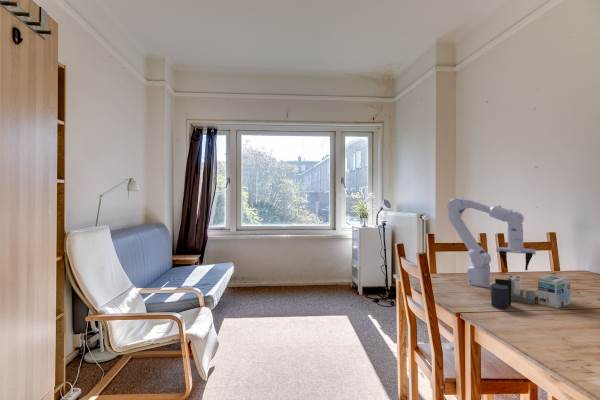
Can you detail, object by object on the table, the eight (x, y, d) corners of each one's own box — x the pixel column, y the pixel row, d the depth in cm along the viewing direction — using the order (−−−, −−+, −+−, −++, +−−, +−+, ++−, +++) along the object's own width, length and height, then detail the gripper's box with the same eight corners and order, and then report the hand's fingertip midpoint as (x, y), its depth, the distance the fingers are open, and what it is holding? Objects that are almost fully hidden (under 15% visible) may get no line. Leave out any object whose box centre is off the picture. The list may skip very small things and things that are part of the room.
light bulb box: (557, 309, 120) (557, 280, 120) (537, 304, 126) (537, 277, 126) (571, 304, 125) (571, 277, 125) (551, 300, 131) (551, 273, 131)
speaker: (494, 301, 129) (495, 276, 128) (511, 305, 125) (511, 279, 124) (488, 307, 124) (488, 282, 123) (505, 312, 120) (506, 285, 119)
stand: (492, 299, 133) (492, 290, 133) (496, 292, 143) (496, 284, 143) (534, 305, 125) (534, 296, 125) (535, 297, 134) (535, 289, 134)
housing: (508, 289, 138) (507, 274, 138) (521, 291, 135) (520, 276, 135) (506, 294, 132) (506, 278, 132) (520, 295, 129) (519, 280, 129)
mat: (501, 292, 142) (501, 291, 142) (503, 287, 150) (503, 286, 150) (547, 298, 133) (547, 297, 133) (547, 293, 140) (546, 292, 140)
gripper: (495, 238, 145) (496, 268, 145) (535, 240, 137) (535, 272, 137) (497, 237, 151) (497, 266, 151) (535, 239, 142) (536, 269, 142)
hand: (515, 269), depth 144 cm, fingers open, 7 cm apart
